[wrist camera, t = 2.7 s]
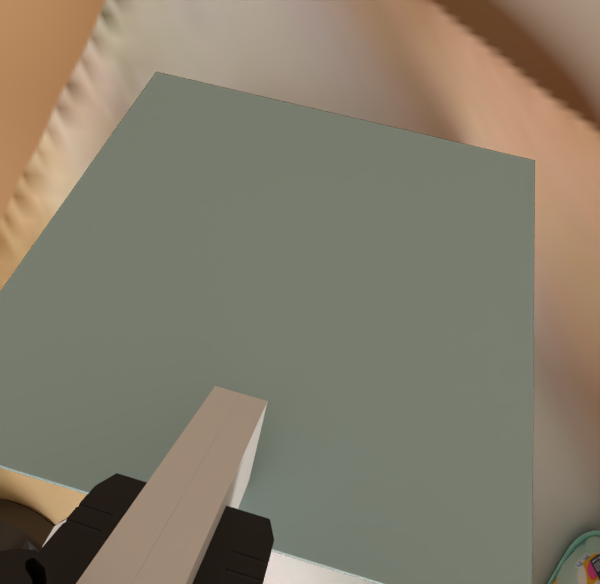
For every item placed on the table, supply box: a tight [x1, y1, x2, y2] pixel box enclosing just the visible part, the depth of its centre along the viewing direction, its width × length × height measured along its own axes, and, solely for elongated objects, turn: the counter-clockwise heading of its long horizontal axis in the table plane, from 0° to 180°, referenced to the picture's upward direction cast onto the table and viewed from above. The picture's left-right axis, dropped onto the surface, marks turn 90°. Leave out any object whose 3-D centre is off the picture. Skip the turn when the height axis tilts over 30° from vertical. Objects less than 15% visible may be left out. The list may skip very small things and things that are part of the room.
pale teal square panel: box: [0, 72, 535, 584], centre depth 19 cm, size 19×18×1 cm
